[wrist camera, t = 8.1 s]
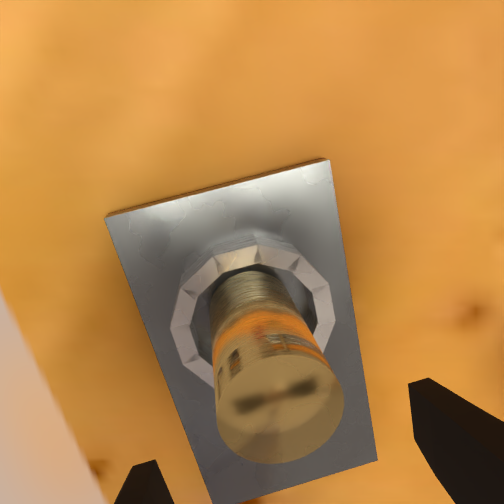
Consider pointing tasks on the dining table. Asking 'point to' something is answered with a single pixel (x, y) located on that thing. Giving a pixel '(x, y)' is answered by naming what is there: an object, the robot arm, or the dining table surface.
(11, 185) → the dining table surface
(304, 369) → the brass fitting
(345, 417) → the pipe plate
